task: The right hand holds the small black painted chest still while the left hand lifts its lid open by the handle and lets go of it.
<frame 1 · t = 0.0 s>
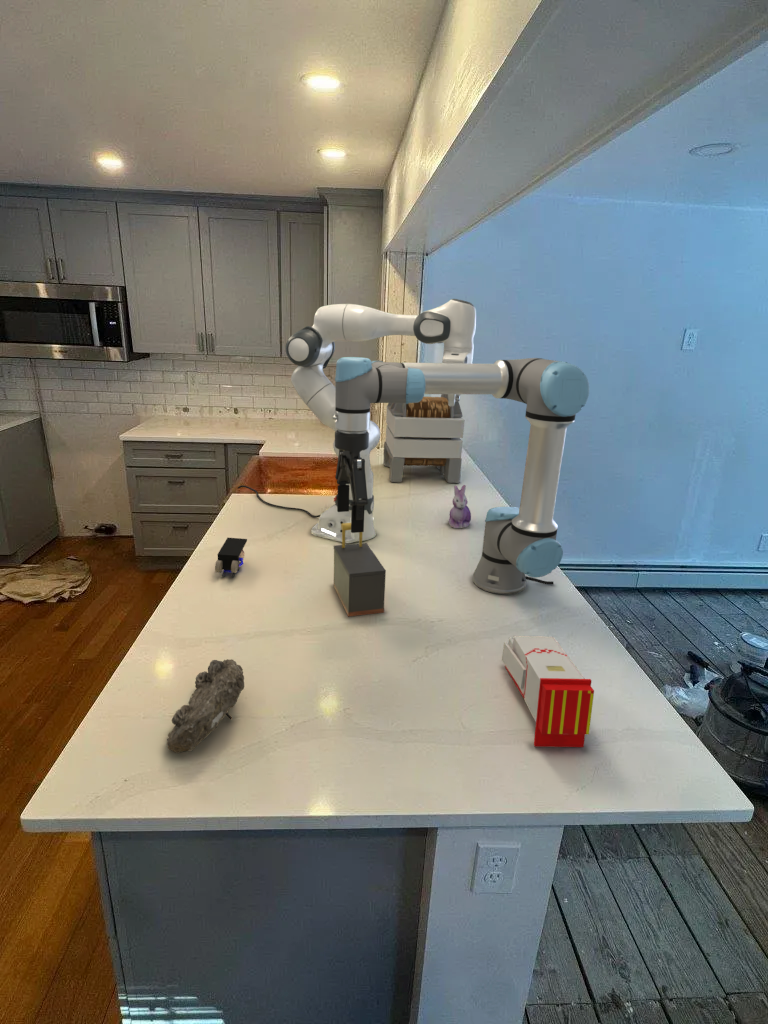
left hand: (454, 403, 174), 48 cm above the counter, tool pointing down, fingers open, 8 cm apart
right hand: (349, 521, 131), 28 cm above the counter, tool pointing down, fingers open, 13 cm apart
figurine character: (232, 569, 168), on the counter
fossil: (212, 717, 108), on the counter
transformer: (419, 473, 275), on the counter
lid: (358, 546, 150), point 15 cm above the counter, hinge at 0.0°
chest: (357, 598, 154), on the counter
figurine: (459, 524, 211), on the counter
toy: (537, 699, 117), on the counter
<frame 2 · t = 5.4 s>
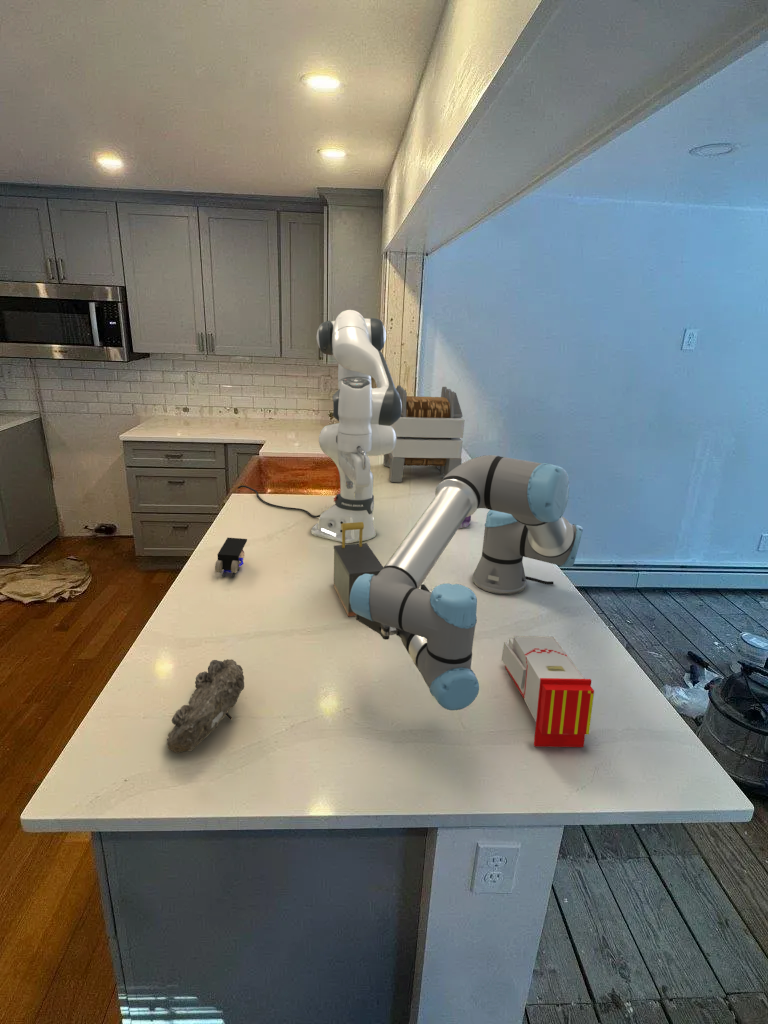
left hand: (353, 493, 152), 28 cm above the counter, tool pointing down, fingers open, 8 cm apart
right hand: (392, 592, 124), 16 cm above the counter, tool horizontal, fingers open, 13 cm apart
nothing on the counter moved.
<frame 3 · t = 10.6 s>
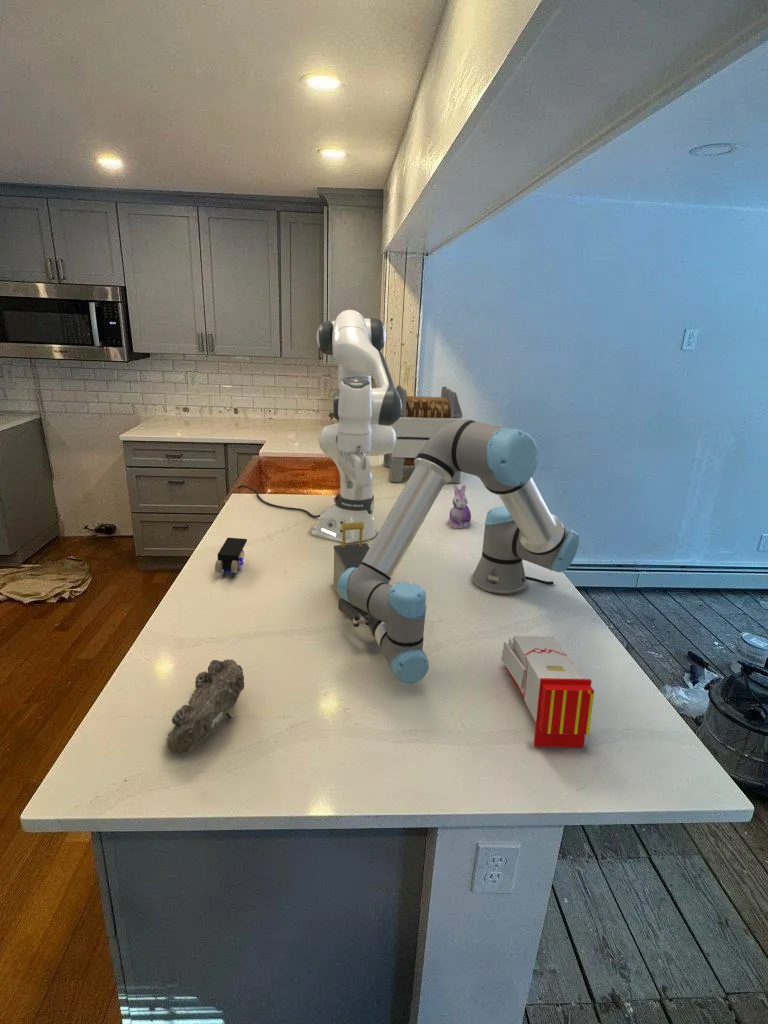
left hand: (353, 493, 152), 28 cm above the counter, tool pointing down, fingers open, 8 cm apart
right hand: (363, 586, 147), 6 cm above the counter, tool horizontal, fingers closed on chest, 9 cm apart
chest: (357, 598, 154), on the counter, touching right hand
everything else where it was.
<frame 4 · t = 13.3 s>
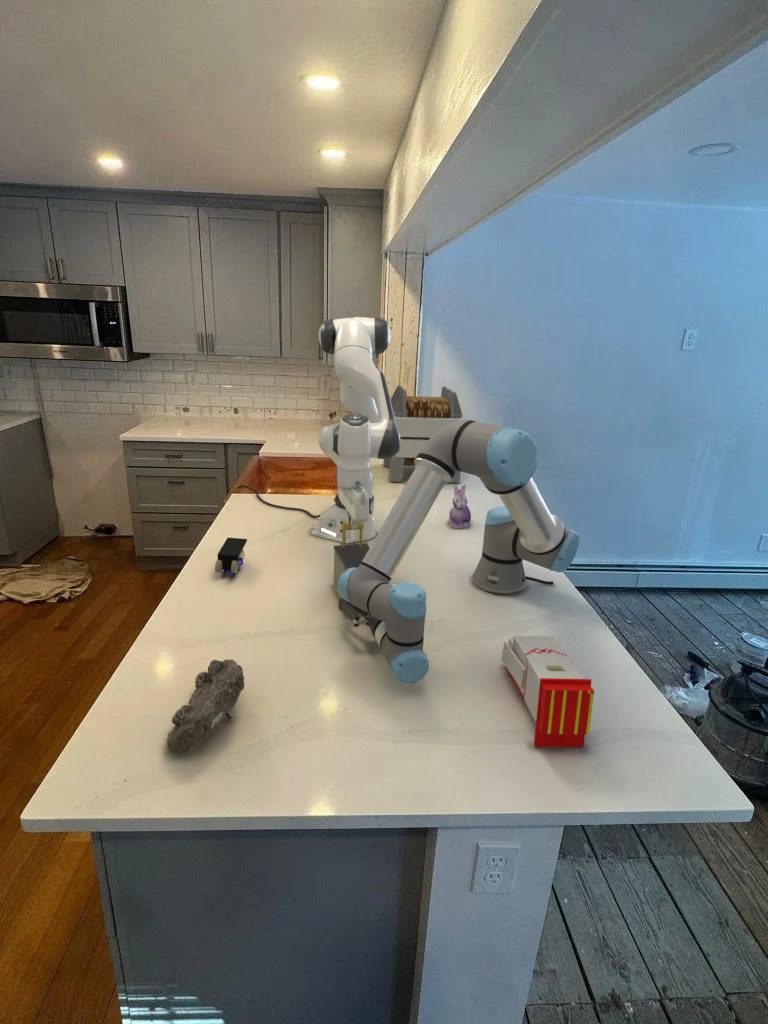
left hand: (352, 525, 155), 18 cm above the counter, tool pointing down, fingers closed on lid, 2 cm apart
right hand: (363, 586, 147), 6 cm above the counter, tool horizontal, fingers closed on chest, 9 cm apart
lid: (358, 546, 150), point 15 cm above the counter, hinge at 0.0°, touching left hand
chest: (357, 598, 154), on the counter, touching right hand
everything else where it was.
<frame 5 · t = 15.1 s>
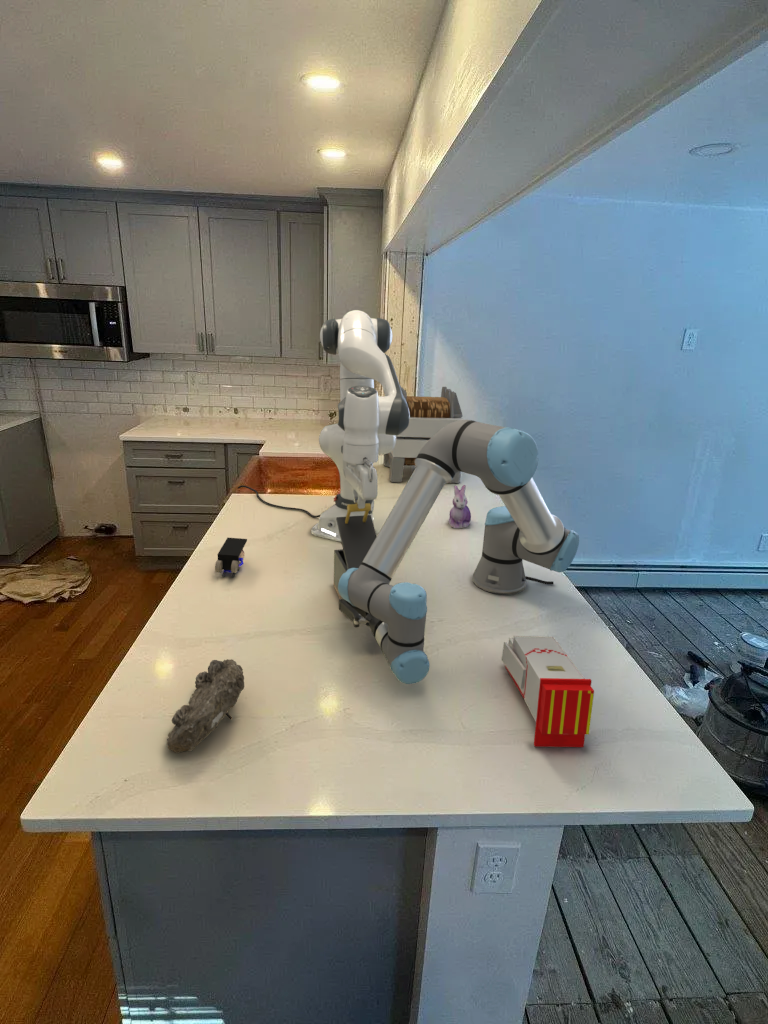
left hand: (359, 505, 146), 27 cm above the counter, tool pointing down, fingers closed
right hand: (363, 586, 147), 6 cm above the counter, tool horizontal, fingers closed on chest, 9 cm apart
lid: (362, 536, 145), point 20 cm above the counter, hinge at 32.0°, touching left hand
chest: (357, 598, 154), on the counter, touching right hand
everything else where it was.
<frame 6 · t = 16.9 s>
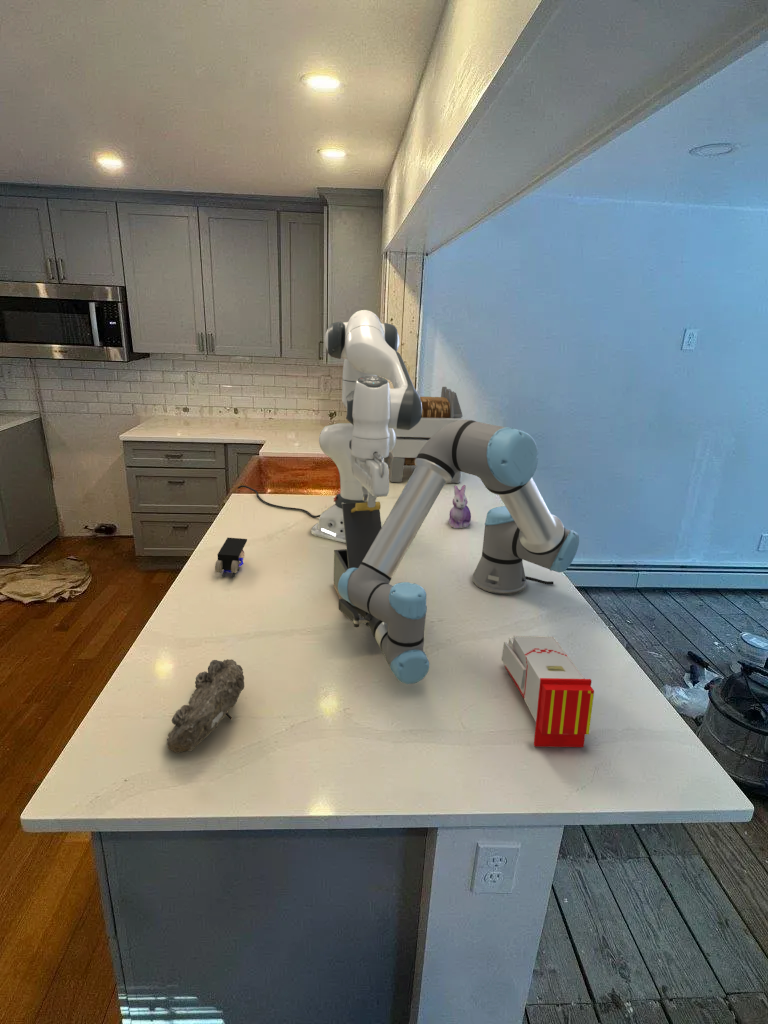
left hand: (368, 504, 137), 30 cm above the counter, tool pointing down, fingers closed
right hand: (363, 586, 147), 6 cm above the counter, tool horizontal, fingers closed on chest, 9 cm apart
lid: (367, 536, 140), point 21 cm above the counter, hinge at 60.7°, touching left hand
chest: (357, 598, 154), on the counter, touching right hand
everything else where it was.
when the right hand's fingers open (6 cm above the counter, at t = 20.9 s): chest stays where it is, on the counter.
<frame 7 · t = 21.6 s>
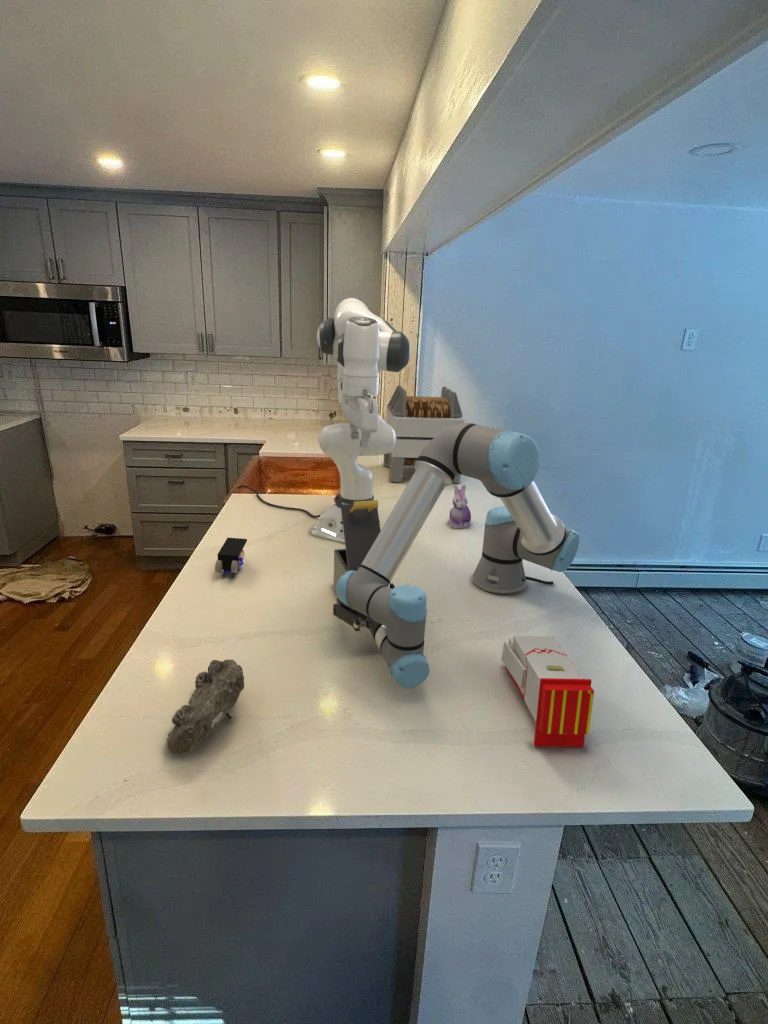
left hand: (359, 443, 143), 42 cm above the counter, tool pointing down, fingers open, 8 cm apart
right hand: (365, 590, 145), 7 cm above the counter, tool horizontal, fingers open, 13 cm apart
lid: (366, 535, 141), point 21 cm above the counter, hinge at 55.4°
chest: (357, 598, 154), on the counter
everything else where it was.
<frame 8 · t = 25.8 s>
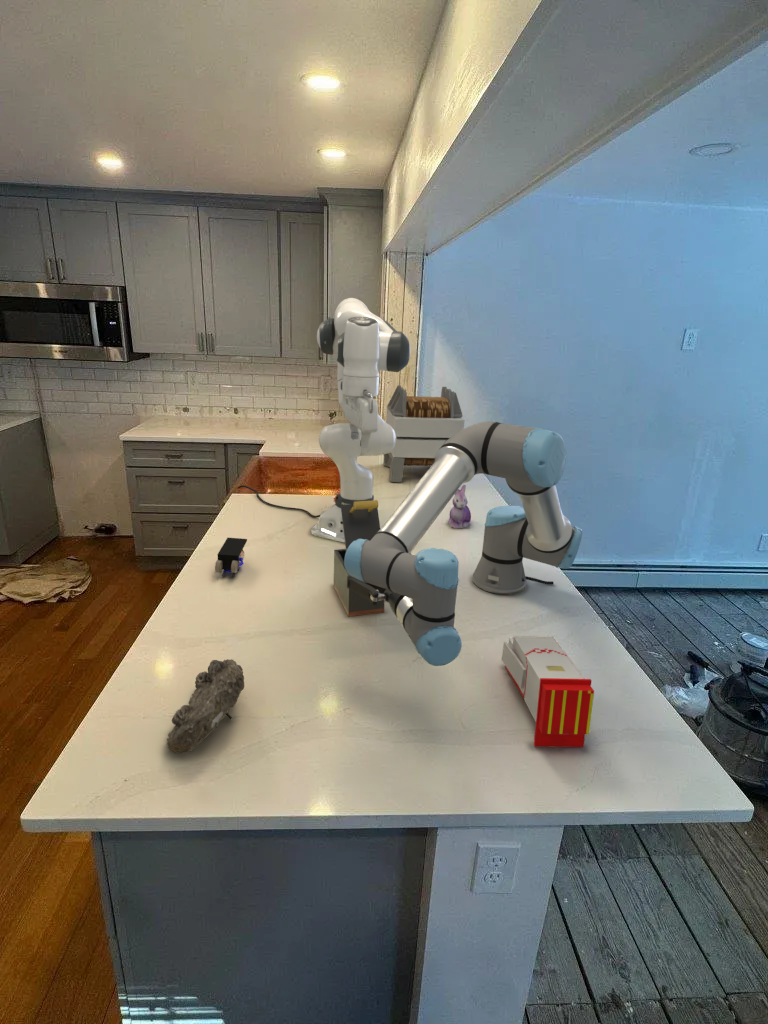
left hand: (359, 443, 143), 42 cm above the counter, tool pointing down, fingers open, 8 cm apart
right hand: (381, 562, 130), 20 cm above the counter, tool horizontal, fingers open, 13 cm apart
nothing on the counter moved.
at the end: lid at +55° (first picture: +0°); the left hand is holding nothing; the right hand is holding nothing; chest tilted 0°; chest never tilted more than 1° during the clip; chest moved 0.1 cm from its start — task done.
